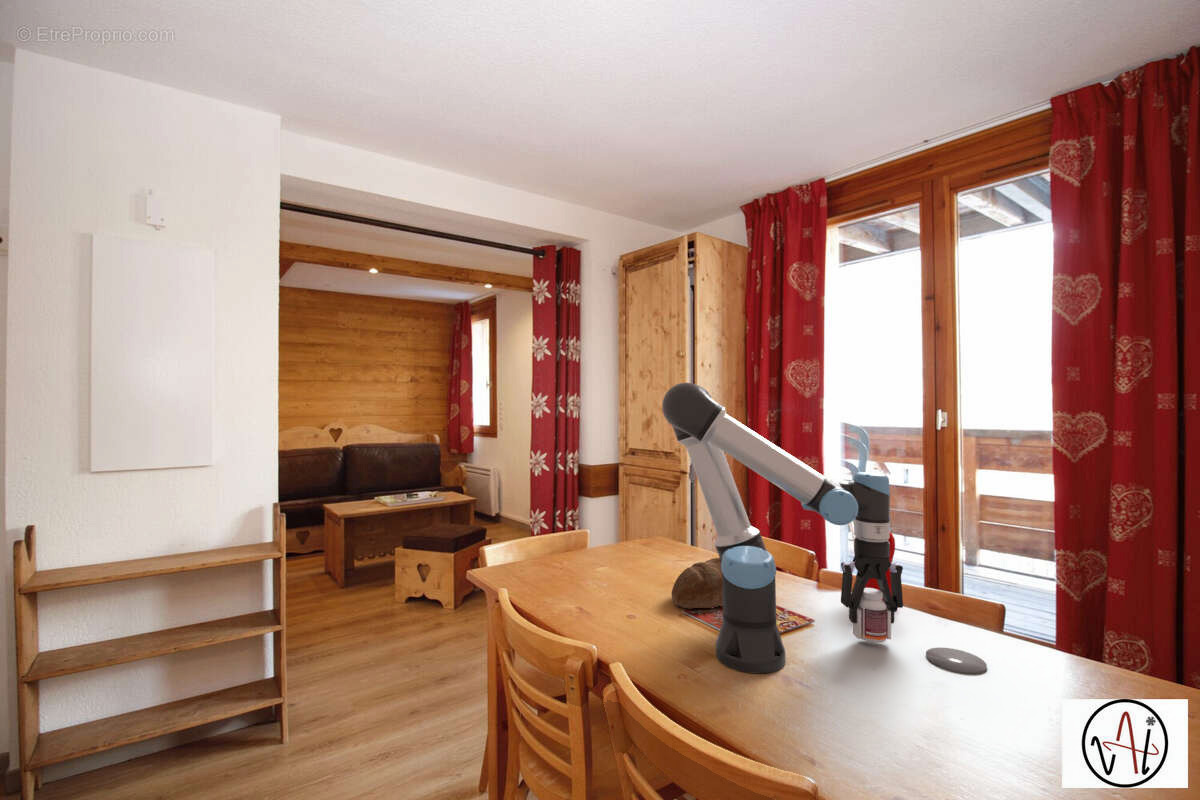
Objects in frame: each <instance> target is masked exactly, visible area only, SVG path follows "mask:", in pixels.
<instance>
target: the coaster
mask: <svg viewBox="0 0 1200 800" xmlns="http://www.w3.org/2000/svg"><path fill="white" fill-rule="evenodd" d="M925 658H926V659H927V660H928V662H930V663H931V664H932V665H934V666H936V667H938V668H941V669H943V670H947V671H950V672H954V673H958V674H965V675H979V674H984V673H985V672H986V671H987V669H988V666H987V663H986V661H985V660H983V659H982V658H981V657H979V656H977V655H975V654H973V653H970V652H967V651H964V650H960V649H957V648H956V649H955V648H950V647H931V648H929V649H927V650H926V652H925Z"/></svg>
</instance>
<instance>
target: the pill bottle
mask: <svg viewBox="0 0 1200 800" xmlns="http://www.w3.org/2000/svg"><path fill="white" fill-rule="evenodd" d="M882 598H883V593H882V591H880V590H877V589H873V588H864V592H863V595H862V598H861V601H860V604H859V607H858V609H860V610H861V639H860V640H864V641H867V642H870V643H876V644H881V643H884V642H886V640H887V638H886V604H885V603H884V602H883V601H882V600H881V599H882Z"/></svg>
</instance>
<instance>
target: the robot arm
mask: <svg viewBox="0 0 1200 800" xmlns="http://www.w3.org/2000/svg"><path fill="white" fill-rule="evenodd" d="M661 403H662V406H661V408H662V413H663V416H664V419H665V420H666V421H667V423H668V424H670V425H671V427H672V429H673V432H674V435H675V438H676V440H677V443H679V444H681V445H683V446H684V447H685V448H686V450H687V453H688V455H689V459H690V462H691V465H692V467H693V470H694V473H695V475H696V478H697V481H698V483H699V486H700V490H701V492H702V495H703V498H704V501H705V503H706V506H707V508H708V511H709V515H710V517H711V520H712V523H713V526H714V527H715V532H716V534H717V537H716V539H715V542H714V546H715V548H716V549H715V550H716V552H717V555H718V556H719V557H718V558H720V560H721V571H722V600H723V606H722V622H721V626H720V628H719V632H718V635H717V638H716V642H715V657H716V659H717V660H718V661H719V663H721V664H723V665H724V666H725V667H728V668H730V669H733V670H736V671H739V672H744V673H750V674H767V673H773V672H776V671H779V670H781V669H782V668H783V667H784V666H785V665H786V663H787V662H786V661H787V660H786V659H787V658H786V649H785V646H784V643H783V641H782V637H781V635H780V631H779V628H778V626H777V592H776V589H777V588H776V575H777V566H776V562H775V558H774V556H773V555H772V554H771V553H770V552H769V550H767V547H766V545H765V542H764V539H763V537H762V534H761V532H760V530H759V529H758V528H756V527H754V526H752V525H751V522H750V520H749V517H748V515H747V514H748V513H747V511H746V508H745V506H744V504H743V501H742V497H741V495H740V492H739V489H738V487H737V484H736V482H735V479H734V477H733V473H732V471H731V467H730V465H729V463H728V460H727V457H726V455H729V456H730V457H732V458H733V459H734V460H737V461H738V462H740V463H741V464H743V465H744V466H745V467H746V468H748V469H750V470H752V471H753V472H754V473H756V474H758V475H759V476H761V477H763V478H764V479H765V480H767V481H768V482H770V483H772V484H773V485H774V486H777V487H778V488H779V489H781V490H782V491H784V492H786V493H787V494H788V495H790V496H791V497H793V498H795V499H796V500H798V501H799V502H800V505H801V507H802V508H803V510H805V511H813V512H816V513H817V514H819V515H820V516H822V518H823V519H824V520H825V521H827V522H829V523H830V524H832V525H835V526H845V525H848V524H851V523H852V522H853V524H854V525H853V535H854V536H857V537H854V539H853V554H854V557H853V559H852V561H850V562H844V561H842V562H840V567H841V569H842V576H841V577H842V578H841V579H842V580H841V592H840V603H841V604H842V605H843V606H844V607H845V608H848V619H849V621H850V622H851V623H852V636H853V635H854V636H855V637H856V639H858V640H862V639H861V610H860V609H858V607H859V604H860V601H861V598H862V595H863V592H864V588H865V585H866V583H868V580H869V579H873V578H875V579H876V580H877V582H878V585H879V588H880V591H882V593H883V600H884V603H885V604H886V640H892V630H891V629H892V624H894V623H895V613H896V612H897V611H898V608H900V609H902V608H903V607H904V600H903V585H902V573H903V571H904V567H903V565H900V564H899V563H897V562H892V563H891V562H890V560H889V556H890V542H889V541H888V539H889V538H890V532H891V530H890V528H891V526H890V525H891V524H890V523H891V522H890V511H891V510H890V508H891V507H890V506H891V505H890V504H891V503H890V502H891V499H890V498H891V491H890V487H891V486H890V479H889V478H890V477H889V476H887V475H886V474H884V473H880V472H874V471H873V472H872V471H871V472H869V471H864V472H863V471H858V472H856V473H855V474H853V475H854V477H853V479H851V480H841V479H840V480H839V479H829V478H827V477H825V476H824V475H823V474H821V473H819V472H818V471H816V470H815V469H813V467H810V466H809V465H807V464H805V463H804V462H803V461H801V460H799V459H798V458H796V457H795V456H793V455H791V454H790V453H788V452H786V451H785V450H784V449H782V448H781V447H779V446H777V445H776V444H774V443H773V442H771V441H769V440H768V439H766V438H764V437H763V436H762V435H760V434H758V433H757V432H755V431H754V430H752V429H751V428H749V427H747V426H746V425H745V424H742V422H740V421H738V420H737V419H735V418H734V417H732V416H730V415H729V414H727V411H726V408H725V407H724V406H723V405H721V404H720V403H718V402H717V401H716V400H714V399H713V398H712V396H711V394H710V393H709V392H708V391H707V390H706V388H704V387H702V386H700V385H698V384H696V383H691V382H680V383H677V384H675V385H673V386H672V387H671V388H669V389H668V390H667V392H666V393H665V394H664V397H663V399H662V402H661ZM725 453H726V455H725ZM855 569H856V571H857V572H856V575H855V582H854V585H853V573H854V571H855ZM888 569H890V571H891V572H890V576H891V589H892V595H891V592H890V589H889V586H888V583H887V582H888V580H887V577H886V574H885V573H886V572H887V571H888Z"/></svg>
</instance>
